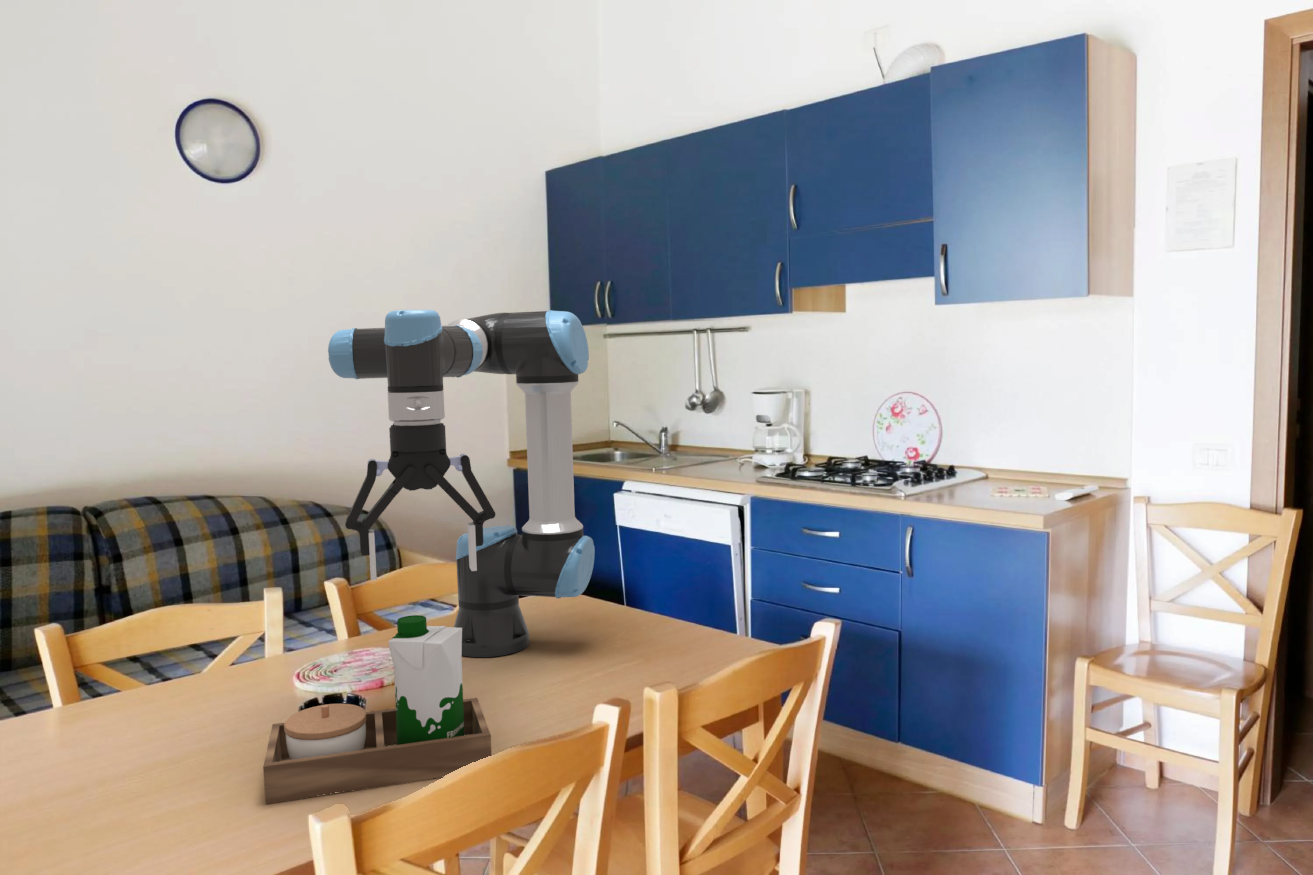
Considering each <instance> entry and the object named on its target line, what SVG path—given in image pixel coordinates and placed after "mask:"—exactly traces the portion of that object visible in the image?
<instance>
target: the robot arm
mask: <svg viewBox="0 0 1313 875" xmlns="http://www.w3.org/2000/svg"><path fill="white" fill-rule="evenodd" d="M439 314H440V313H439V312H437V311H436V310H433V309H400V310H399V309H398V310H397V309H396V310H392V311H389V312H388V313H387V314H386V315H385V319H384V327H372V328H371V327H369V328H365V327H364V328H357V327H353V328H352V327H351V328H347V329H341V330H339V329H338V330H337V331H335V333H333V335H332V336H331V338H330V339H329V342H328V346H327V352H328V361H329V365H330V367H331V370H332V372H334V374H336V376H338V377H339V378H341V379H342V378H343V379H355V380H361V379H362V380H363V379H387V405H388V406H387V409H388V420H389V421H390V422H393V423H392V424H391V425H390V427H389V446H390V447H389V449H390V451H389V452H390V455H389V459H388V460H376V459H375V458H370V459H368V460H367V468H366V476H365V478H364V480H363V482H362V485H361V486H360V489H359V491H358V493H357V494H356V498H355V500H354V503H353V504H352V507H351V509H350V510H349V513H348V515H347V517H346V519H345V522H344V524H345V528H346V529H348V530H354V531H356V532H357V533H358V534H359V545H360V546H359V547H360V548H359V549H360V553H361V556H369V570H370V581H376V580H378V579H377V578H378V577H377V561H376V560H377V559H376V542H375V529H372V527H373V525H374V524H375V523H376V522H377V520H378V519H379V517H380V516H381V515H382V514H383V512H384V511H385V510H386V509H387V508H388V506H389V505H390V504H391V503H392V501H393V500H394V498H395V497H396V496H398V494H399V493H400V492H401V491H402V489H405V490H408V491H417V490H433V489H434V488H436V487H438V486H439V488H441V489H442V491H444V493H446V494H447V496H449V498H451V499H452V500H453V502H455V503H456V505H457V506H458V507H459V508H461V509H462V510H463V512H464V513H465V514H466V515H467V516H468V517H469V518H470V519H471V520H472V521H471V522H467V532H466V533H463V534H462V535H460V536H459V537H458V539H456V540H457V541H456V551H455V552H456V553H455V554H456V555H455V561H456V578H457V582H456V583H457V598H458V601H457V602H458V612H457V614H456V618H455V622H454V626H453V628H462V656H464V657H469V658H470V657H471V658H492V657H500V656H506V655H512V654H515V653H518V652H520V651H522V650H525V649H526V648H527V647H528V646H529V645H530V632H529V631H530V630H529V628H528V626H527V622H526V621H525V618H524V615H523V613H522V610H521V607H520V601H519V600H520V598H519V596H522V597H523V596H526V597H542V598H545V597H546V598H555V599H562V598H577V597H579V596H580V595H582V594H583V593H584V592H585V591H586V589H587V587H588V585H589V582H590V580H591V578H592V574H593V569H594V564H595V557H596V556H595V554H596V551H595V545H594V540H593V538H592V537H590V536H588V535H584V525H583V523H581V521H580V520H578V519H577V517H576V512H575V485H574V483H575V481H574V459H573V458H574V454H573V452H574V450H573V424H572V422H573V421H572V420H573V419H572V418H573V417H572V416H573V415H572V391H573V390H574V389H575V388H576V387H577V385H579V375H581V374H583V373H585V372H586V371H587V369H588V367H589V363H588V361H589V356H590V354H589V352H590V351H589V344H588V338H587V335H586V331H585V329H584V326H583V325H582V322H581V320H580V319H579V318H578V316H577V315H575V314H574V313H573V312H570V311H564V310H562V311H561V310H551V309H550V310H541V311H520V312H516V311H515V312H495V313H490V314H484V315H480V316H475V317H469V318H465V319H464V318H459V319H456V320H453V321H451V322H449V323H448V324H447V325H446V324H445V325H442V323H441V316H440V315H439ZM473 372H474V373H485V374H493V375H515V379H516V380H515V381H516V382H515V384H516V386H517V387H518V388H520V390H522V392H523V394H524V402H525V403H524V404H525V429H526V430H525V432H526V433H525V434H526V454H527V455H526V458H527V459H526V460H527V484H528V485H527V487H528V511H529V514H528V516H529V518H528V521H527V522H526V523H525V524H523V526H522V527H521V534H518V530H517V527H516V526H514V525H507V524H506V525H498V526H490V527H484V523H485V522H486V521H488V520H491V519H494V518H496V511H495V510H494V508H493V507H492V505H491V502H490V501H489V500H488V498H487V495H486V493H485V492H484V491H483V489H482V487H481V485H480V484H479V482H478V480H477V478H476V476H475V474H474V473H473V471H472V467H471V465H472V464H471V459H470V457H469V455H467V454H466V453H461V454H460V455H458V456H453V457H449V456H448V454H447V453H448V452H447V441H446V440H447V438H446V425H445V424H444V423H443V422H441V421H442V420H443V419H445V416H446V414H445V413H446V412H445V396H444V395H445V394H444V378H462V377H463V376H467V375H470V374H472V373H473ZM451 466H454V468H455V470H456V471H458V472H461V474H462V476H463V477H464V479H465V481H466V482H467V485H468V486H469V488H470V489H471V491H472V493H473V495H474V496H475V498H476V501H477V502H478V503H479V506H480V507H481V509H482V511H479V512H478V511H477V510H476V508H475V507H473V506H472V505H471V504H470V503H469V502H468V501H467V500H466V498H465V497H464V496H463V495H462V494H461V493H460V492H459V490H457V489H456V488H455V487H454V486H453V485H452V484H451V482H449V481H448V480H447V479H446V478H445V477H444V476H445V475H446V473H447V472H448V470H449V469H450V468H451ZM385 470H388V471H389V473H390V474H391V475H392V476H393V477H394V479H393V481H392V482H391V483H390V485H389V486H388V488H387V489H386V490H385V491H384V492H383V494H382V495H381V496H380V498H379V499H378V500H377V501H376V502H375V504H374V505H373V507H372V508H371V509H370V510H369V511H368V513H367V514H366V515H365V516H364V518H363V519H362V520H359V517H360V515H361V513H362V510H363V508H364V507H365V504H366V502H367V500H368V497H369V496H370V494H371V491H372V488H373V487H374V485H375V482H376V480H377V479H376V478H377V477H380V476H382V475H383V472H384V471H385Z"/></svg>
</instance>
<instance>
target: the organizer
mask: <svg viewBox="0 0 1313 875" xmlns="http://www.w3.org/2000/svg"><path fill="white" fill-rule="evenodd" d="M463 708H464V736H458V737H451V738H444V739H437V740H429V741H422V742H415V743H408V744H401V745H397V723H396V707H395V708H387V709H379V710H371V711H370V710H369V711H366V739H365V745H364V749H363V750H358V751H351V752H344V753H336V754H329V755H322V756H315V757H308V758H301V759H293V760H290V757H289V754H288V750H287V745H286V735H285V731H284V723H285V722H278V723H272V726H271V730H270V735H269V739H268V743H267V747H266V752H265V756H264V762H263V766H262V767H263V783H264V799H265V800H264V801H265V805H270V804H276V803H283V802H289V801H296V800H295V799H297V800H302V799H301V798H304V799H307V798H306V797H310V798H315V797H314V796H317V795H323V794H330V793H335V792H343V791H350V792H353V791H352V790H356V791H362V789H363V790H368V789H367V788H370V789H374V788H375V787H376V788H381V787H388V786H395V784H396V785H402V784H401V783H403V784H407V783H408V784H409V783H414V782H415V783H417V782H422V781H427V780H428V779H429V780H434V779H433V778H436V779H440V777H442V776H445V775H447V774H449V773H451V772H453V771H455V770H457V769H459V768H461V767H463V766H466V765H468V764H470V763H472V762H476V761H478V760H480V759H483V758H486V757H488V756H492V735H491V732H490V730H489V726H488V724H487V721H486V718H485V716H484V712H483V710H482V707H481V705H480V702H479V698H478V697H474V698H473V697H471V698H465V699H464V698H463ZM388 745H389V746H388ZM442 778H443V777H442ZM376 788H375V789H376ZM343 793H344V792H343ZM330 795H331V794H330ZM323 796H324V795H323ZM317 797H318V796H317Z"/></svg>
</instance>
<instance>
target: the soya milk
mask: <svg viewBox="0 0 1313 875" xmlns="http://www.w3.org/2000/svg"><path fill="white" fill-rule="evenodd" d="M427 624H428V623H427V617H426V616H425V615H420V614H418V615H417V614H415V615H414V614H413V615H405V616H402V617H399V618H398V619H397V621H396V625H397V626H396V627H397V633H396V634H395V636H393V637H392V638H390V639H389V640H388V646H389V651H390V656H391V661H392V665H393V675H394V678H393V679H394V680H393V681H394V682H393V683H394V697H395V698H394V700H395V708H396V723H397V744H396V745H401V744H408V743H415V742H422V741H429V740H437V739H444V738H451V737H458V736H465V734H464V708H463V700H464V688H463V687H464V686H463V665H462V664H463V663H462V662H463V661H462V656H463V655H462V628H454V627H453V626H452V627H451V626H449V627H447V626H445V625H427Z"/></svg>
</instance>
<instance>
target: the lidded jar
mask: <svg viewBox="0 0 1313 875" xmlns="http://www.w3.org/2000/svg"><path fill="white" fill-rule="evenodd" d="M366 712H367V711H366V710H365V709H364V707H361V706H359V705H356V704H351V703H329V704H327V703H326V704H321V705H317V706H312V707H309V708H305V709H302V710H300V711H298V712H295V713H293V714H291V715H290V716H288V717H287V718H286V720H284V721H285V722H283V723H284V731H285V735H286V745H287V750H288V754H289V757H290V758H289V760H293V759H301V758H308V757H315V756H322V755H329V754H336V753H344V752H351V751H358V750H365V748H364V745H365V739H366Z"/></svg>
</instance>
